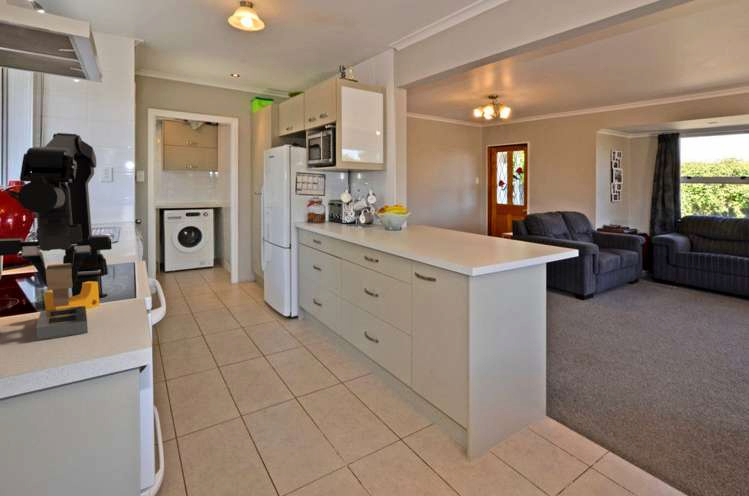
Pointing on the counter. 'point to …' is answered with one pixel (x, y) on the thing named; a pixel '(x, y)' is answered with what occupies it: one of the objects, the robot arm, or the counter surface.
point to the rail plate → (62, 322)
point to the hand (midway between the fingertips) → (60, 285)
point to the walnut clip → (59, 282)
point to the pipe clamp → (77, 297)
